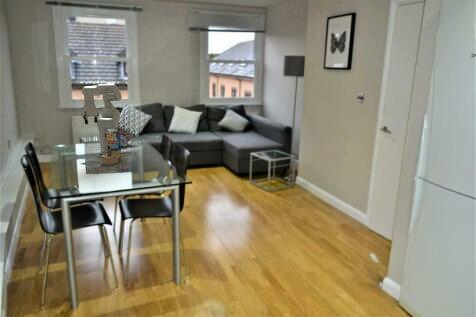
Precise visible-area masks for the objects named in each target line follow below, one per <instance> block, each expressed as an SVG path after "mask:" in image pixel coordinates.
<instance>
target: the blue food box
mask: <svg viewBox="0 0 476 317" xmlns="http://www.w3.org/2000/svg"><path fill="white" fill-rule="evenodd" d="M105 145H106V154H107V150H108V149H111V154H118V155H119V157H118V159H122V147H121V145H120V133H119V132H118V131H109V132H108V133H105Z"/></svg>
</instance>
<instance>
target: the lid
mask: <svg viewBox="0 0 476 317" xmlns="http://www.w3.org/2000/svg"><path fill="white" fill-rule="evenodd" d="M99 157H100V159H101V158H102V159H113V158H117V157H119V155H118V154H111V149H108V150H107V154H100V156H99ZM102 159H101V160H102Z"/></svg>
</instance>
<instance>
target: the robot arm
mask: <svg viewBox="0 0 476 317" xmlns="http://www.w3.org/2000/svg"><path fill="white" fill-rule="evenodd" d="M81 93H82V95H83V100H84V104H83V108H82V109H83V113H81V118H83V120H84V125H89V119H88V118H90V117H93V119H94V120H93V122H94V123H96V126H97V129H98V130H97V131H98V136H99V137H98V138H99V147H100V149H99V150H100V151H99V152H98V154H99V155H105V154H106V145H105V133H108V132H110V130H115V129H117V128H118V125H119V122H120V118H121V112H120V110H118V109H115V106H114V104H113V103H112V102H120V101H122V97H123V96H122V93H121V90H120V89H119V87H118V86H117V85H116V84H115V83H103V84H94V85H86V86H82V88H81ZM99 95H100V96H102V102H103V104H104V105H103V106H104V107H103V108H102V109H103V110H102V112H101V117H100V118H99V115H100V112H99V111H97V106H96V104H95V103H96V101H95V96H96V97H97V96H99ZM98 118H99V119H98Z"/></svg>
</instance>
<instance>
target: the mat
mask: <svg viewBox="0 0 476 317" xmlns="http://www.w3.org/2000/svg"><path fill="white" fill-rule="evenodd" d="M99 164H102V161H99V160H93V159H92V160H89V161H85V162H81V163H80V165H84V166H91V167H92V166H95V165H99Z"/></svg>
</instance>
